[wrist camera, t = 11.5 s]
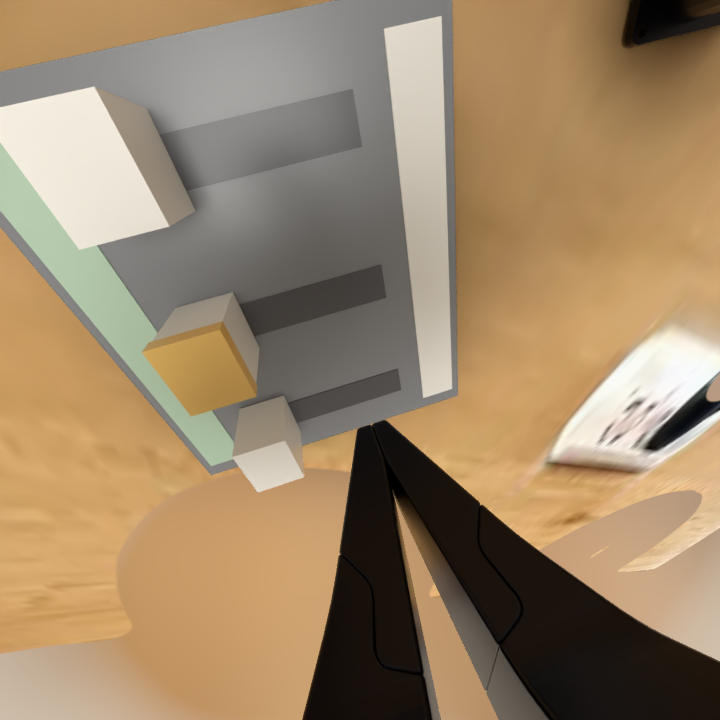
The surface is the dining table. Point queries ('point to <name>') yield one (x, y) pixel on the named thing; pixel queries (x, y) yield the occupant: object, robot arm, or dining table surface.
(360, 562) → the robot arm
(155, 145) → the block
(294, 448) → the block
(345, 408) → the panel
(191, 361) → the block
